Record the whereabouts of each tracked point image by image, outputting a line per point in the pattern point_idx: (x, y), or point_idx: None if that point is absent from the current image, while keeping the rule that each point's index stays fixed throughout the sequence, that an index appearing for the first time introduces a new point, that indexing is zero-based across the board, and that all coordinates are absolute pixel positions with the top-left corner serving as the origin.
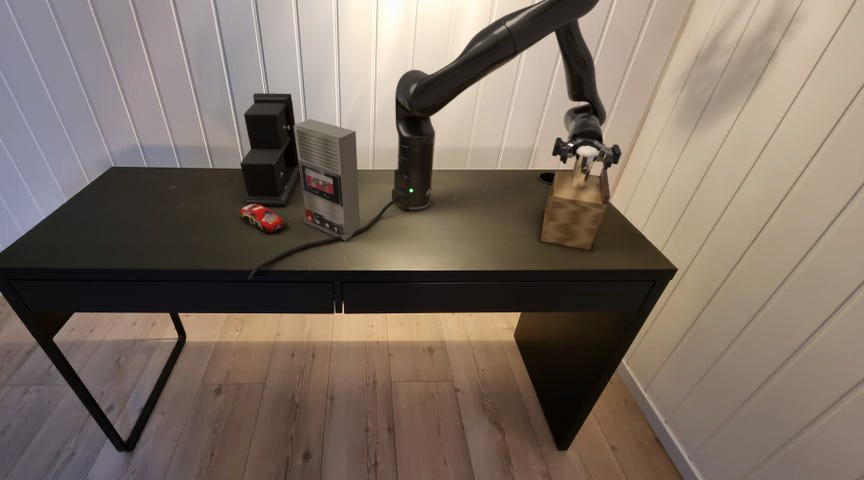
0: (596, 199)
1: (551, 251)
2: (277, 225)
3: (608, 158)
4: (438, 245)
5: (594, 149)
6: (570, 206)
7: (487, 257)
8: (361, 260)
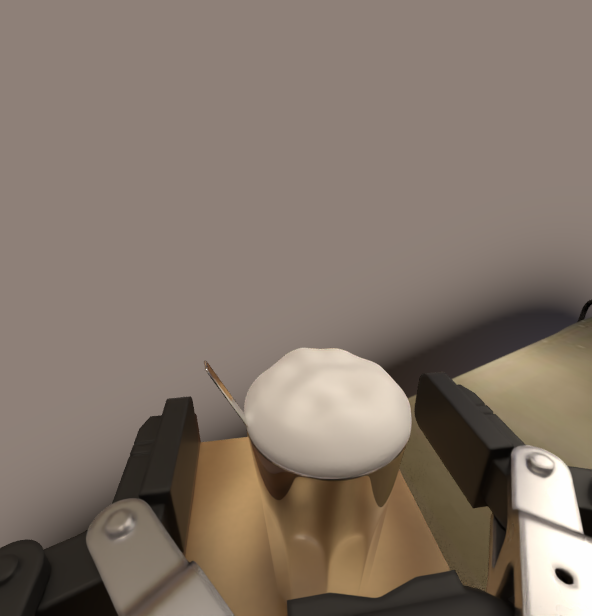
0: (218, 466)
1: None
2: None
3: (172, 416)
4: (531, 418)
5: (284, 379)
6: None
7: None
8: (560, 350)
